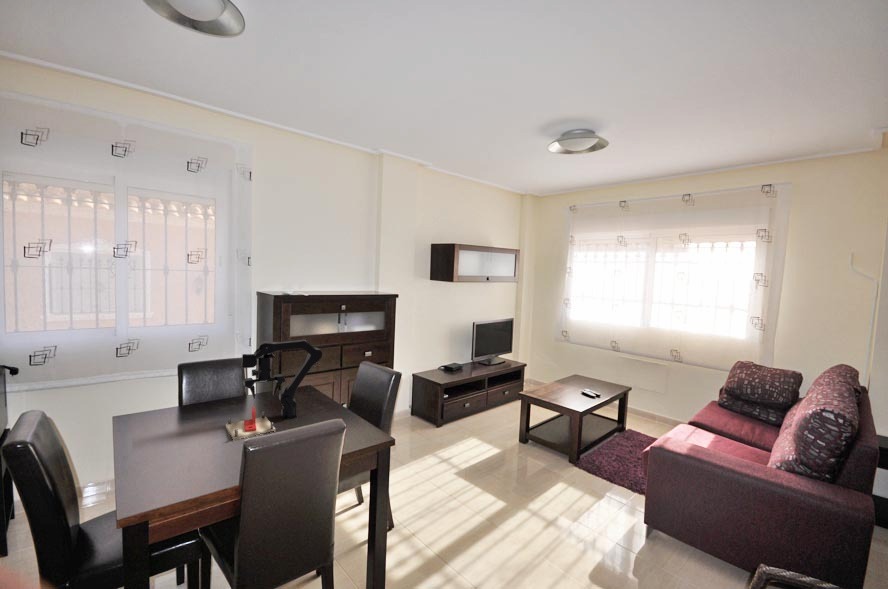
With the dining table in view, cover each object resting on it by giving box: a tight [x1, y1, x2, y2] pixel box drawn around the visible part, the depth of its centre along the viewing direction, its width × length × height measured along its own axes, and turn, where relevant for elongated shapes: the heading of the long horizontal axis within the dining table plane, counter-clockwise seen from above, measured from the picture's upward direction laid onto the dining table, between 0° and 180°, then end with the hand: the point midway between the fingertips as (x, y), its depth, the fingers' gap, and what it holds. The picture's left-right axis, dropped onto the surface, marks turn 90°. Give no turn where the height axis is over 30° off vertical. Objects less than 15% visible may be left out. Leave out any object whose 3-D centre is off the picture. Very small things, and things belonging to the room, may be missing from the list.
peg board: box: [225, 411, 276, 441], centre depth 189 cm, size 18×18×4 cm
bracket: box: [243, 407, 257, 432], centre depth 188 cm, size 12×4×8 cm, turn 29°
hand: (263, 396), depth 199 cm, fingers open, 9 cm apart
